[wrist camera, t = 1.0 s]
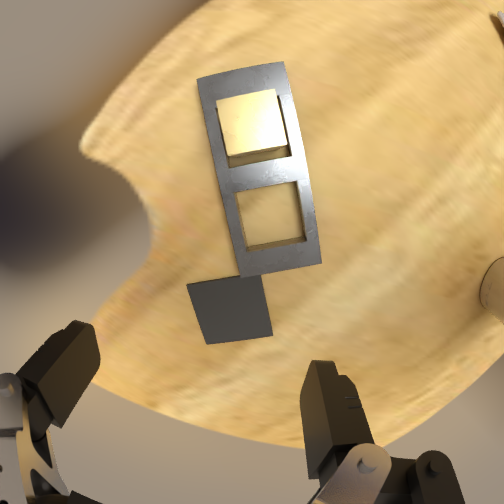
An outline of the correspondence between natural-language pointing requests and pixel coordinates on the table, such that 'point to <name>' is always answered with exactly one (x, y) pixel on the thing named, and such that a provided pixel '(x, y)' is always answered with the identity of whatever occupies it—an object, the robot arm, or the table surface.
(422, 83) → the table surface
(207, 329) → the mat
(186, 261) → the table surface
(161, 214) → the table surface
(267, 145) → the block
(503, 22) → the stone
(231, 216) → the grey slotted frame
